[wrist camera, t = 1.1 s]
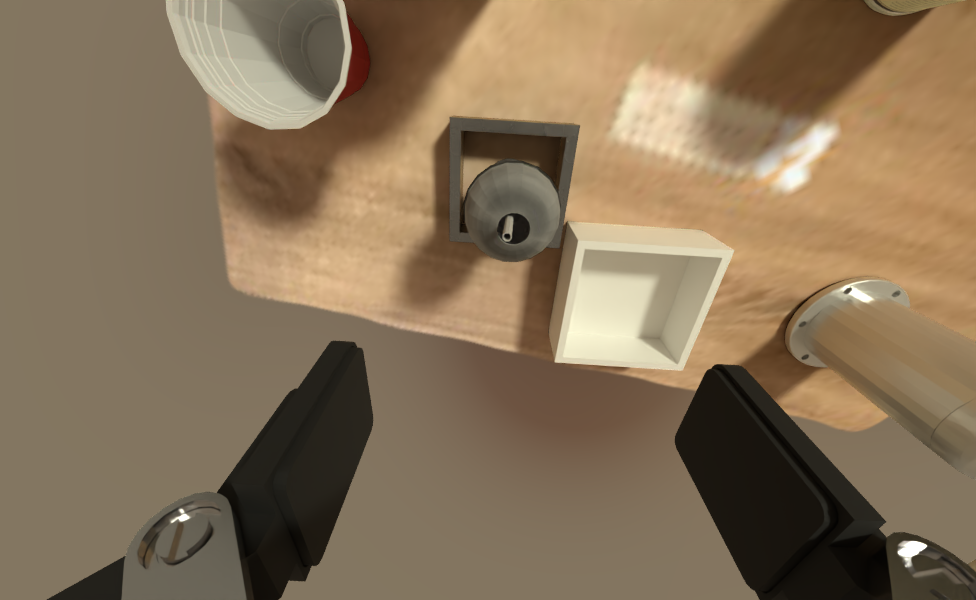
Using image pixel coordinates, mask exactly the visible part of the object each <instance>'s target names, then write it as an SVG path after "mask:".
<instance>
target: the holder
mask: <svg viewBox="0 0 976 600" xmlns="http://www.w3.org/2000/svg"><path fill="white" fill-rule="evenodd" d="M579 128H580V125H577V124H571V123H556V122H541V121H525V120H510V119H494V118H479V117H463V116H452V117H450V241H455V242H470V243H474V241H473V240H472V239H471V237H470V235H469V233H468V230H467V227H466V224H462V205H463V155H464V131H477V132H493V133H508V134H524V135H539V136H555V137H561V141H560V148H559V155H558V162H557V169H556V176H555V182H554V185H555V186H556V188H557V190H558V192H559V197H560V202H561V212H560V220H559V225H558V228H557V230H556V233H555V235H554V237H553V239H552V241H551V242H550V243H549V244H548V245H547V246H546V247H548V248H560V242H561V236H562V230H563V224H564V218H565V212H566V206H567V200H568V194H569V188H570V182H571V176H572V170H573V164H574V158H575V152H576V146H577V140H578V134H579Z"/></svg>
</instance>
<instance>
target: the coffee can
mask: <svg viewBox="0 0 976 600" xmlns="http://www.w3.org/2000/svg"><path fill="white" fill-rule="evenodd" d="M864 1H865V3H866V4H867V5H868V6H869V7H870V8H871V9H872V10H874V11H877V12H879V13H881V14H885V15H892V16H896V15H906V14H911V13H914V12H918V11H921V10H924V9H928V8H933V7H938V6H942V5H947V4H952V3H956V2H961V1H965V0H864Z"/></svg>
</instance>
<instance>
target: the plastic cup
mask: <svg viewBox="0 0 976 600" xmlns="http://www.w3.org/2000/svg"><path fill="white" fill-rule="evenodd" d="M166 12H167V15H168V18H169V21H170V24H171V27H172V30H173V33H174V36H175V39H176V42H177V45H178V48H179V51H180V54H181V56H182V57H183V59H184V60H185V62H186V63H187V65H188V66H189V68H190V69H191V71H192V72H193V74H194V75H195V77H196V78H197V79H198V81H199V82H200V84H201V85H202V87H203V88H204V90H205V91H206V92H207V93H208V94H209V95H211V96H212V97H213V98H214V99H215V100H217V101H218V102H219V103H220V104H221V105H223V106H224V107H225V108H226V109H227V110H229V111H230V112H231V113H232V114H233V115H235V116H236V117H238V118H241V119H243V120H246V121H248V122H251V123H253V124H256V125H259V126H261V127H264V128H266V129H269V130H272V129H301V128H302V127H304V126H306V125H308V124H309V123H311V122H313V121H315V120H317V119H318V118H320V117H322V116H324V115H325V114H327V113H328V112H329V111H330V109H331V108H332V106H333V105H334V104H335V103H338V102H340V101H342V100H343V99H345V98H347V97H348V96H350V95H352V94H354V92H356V91H358V90H359V89H361V87H362V85H363V84H364V82H365V81H366V79H367V78H368V73H369V67H370V59H369V53H368V47H367V44H366V42H365V40H364V38H363V36H362V34H361V32H360V30H359V29H358V28H357V27H356V26H355V25H354V23H353V21H352V19H351V18H350V16H349V15H348V14H347V12H346V8H345V4H344V2H343V0H166Z"/></svg>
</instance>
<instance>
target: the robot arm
mask: <svg viewBox="0 0 976 600" xmlns="http://www.w3.org/2000/svg"><path fill="white" fill-rule="evenodd" d="M785 343H786V346H787V349H788V351H789V352H790V353H791V354H792V355H793V356H794V357H795V358H796V359H797V360H799V361H800V362H802V363H804V364H806V365H810V366H814V367H829V368H830V369H831V370H833V371H834V372H835V373H836V374H838V375H839V376H840V377H841V378H843V379H844V380H845V381H846V382H847V383H849V384H850V385H851V386H852V387H854V388H855V389H856V390H857V391H859V392H860V393H861V394H862V395H864V396H865V397H866V398H867V399H868V400H870V401H871V402H872V403H873V404H875V405H876V406H877V407H878V408H880V409H881V410H882V411H883V412H885V413H886V414H887V415H888V416H890V417H891V418H892V419H893V420H894V421H896V422H897V423H898V424H899V425H901V426H902V427H903V428H904V429H906V430H907V431H908V432H909V433H911V434H912V435H913V436H914V437H915V438H917V439H918V440H919V441H921V442H922V443H923V444H924V445H925V446H927V447H928V448H929V449H931V450H932V451H933V452H934V453H936V454H937V455H938V456H940V458H942V459H943V460H944V461H946V462H947V463H948V464H949V465H951V466H952V467H954V468H955V469H956V470H958V471H959V472H961V473H963V474H964V475H966V476H968V477H970V478H972V479H974V480H976V341H974V340H972V339H970V338H968V337H966V336H964V335H962V334H960V333H958V332H956V331H954V330H952V329H950V328H948V327H946V326H944V325H942V324H940V323H938V322H936V321H934V320H932V319H930V318H928V317H926V316H924V315H922V314H920V313H918V312H916V311H914V310H912V309H910V301H909V297H908V295H907V293H906V292H905V290H904V289H903V288H901V287H900V286H899V285H897V284H895V283H893V282H891V281H889V280H886V279H883V278H879V277H858V278H853V279H849V280H844V281H842V282H839V283H836V284H834V285H831V286H829V287H827V288H825V289H824V290H822V291H820V292H818V293H817V294H815V295H814V296H812V297H811V298H810V299H809V300H807V301H806V302H805V303H804V304H803V305H802V306H801V307H800V308H799V309H798V310H797V311H796V313H795V314H794V315H793V317H792V318H791V320H790V322H789V324H788V326H787V329H786V334H785ZM372 426H373V413H372V406H371V400H370V393H369V386H368V380H367V373H366V367H365V361H364V354H363V350H362V348H357V346H356V344H355V343H354V342H346V341H331V342H330V343H329V345H328V346H327V348H326V349H325V351H324V352H323V353H322V355H321V356H320V358H319V359H318V361H317V362H316V363H315V365H314V366H313V368H312V369H311V370H310V372H309V373H308V375H307V376H306V378H305V379H304V380H303V382H302V383H301V385H300V386H299V388H298V389H294V390H292V391H290V392H289V394H288V395H287V396H286V397H285V399H284V400H283V401H282V403H281V404H280V406H279V407H278V408H277V410H276V411H275V412H274V414H273V415H272V417H271V418H270V419H269V421H268V422H267V424H266V425H265V426H264V428H263V429H262V431H261V432H260V433H259V435H258V436H257V438H256V439H255V440H254V442H253V443H252V444H251V446H250V447H249V449H248V450H247V451H246V453H245V454H244V456H243V457H242V458H241V460H240V461H239V463H238V464H237V465H236V467H235V468H234V469H233V471H232V472H231V474H230V475H229V476H228V478H227V479H226V480H225V482H224V483H223V485H222V486H221V488H220V489H219V490H218V492H217V493H214V492H202V493H195V494H192V495H190V496H187V497H184V498H181V499H179V500H177V501H175V502H174V503H172V504H170V505H168V506H167V507H165V508H163V509H162V510H161V511H160V512H158V513H157V514H156V515H154V516H153V517H152V518H151V519H149V520H148V521H147V523H146V524H145V525H144V526H143V527H142V528H141V529H140V530H139V531H138V532H137V534H136V535H135V537H134V539H133V540H132V542H131V543H130V545H129V547H128V549H127V553H126V556H124V557H123V558H121V559H119V560H117V561H116V562H114V563H112V564H110V565H108V566H107V567H105V568H103V569H101V570H99V571H97V572H96V573H94V574H92V575H90V576H89V577H87V578H85V579H83V580H81V581H79V582H78V583H76V584H74V585H72V586H71V587H69V588H67V589H65V590H63V591H62V592H60V593H58V594H56V595H54V596H52V597H51V598H49V599H47V600H278V599H280V598H281V597H282V594H283V592H284V590H285V587H286V585H287V583H288V581H289V580H290V581H306V578H307V576H308V573H309V571H310V568H311V566H316V565H318V564H319V563H320V561H321V559H322V557H323V554H324V552H325V549H326V546H327V544H328V541H329V539H330V536H331V534H332V531H333V529H334V526H335V523H336V520H337V518H338V516H339V513H340V510H341V508H342V505H343V503H344V500H345V497H346V495H347V492H348V490H349V487H350V484H351V482H352V479H353V477H354V474H355V471H356V469H357V466H358V464H359V461H360V459H361V456H362V453H363V451H364V448H365V445H366V443H367V440H368V438H369V435H370V432H371V430H372ZM675 445H676V448H677V450H678V452H679V454H680V456H681V458H682V460H683V462H684V464H685V466H686V468H687V470H688V472H689V474H690V475H691V477H692V480H693V481H694V483H695V485H696V487H697V489H698V491H699V493H700V495H701V497H702V499H703V501H704V503H705V505H706V507H707V509H708V511H709V512H710V514H711V516H712V518H713V520H714V522H715V524H716V526H717V528H718V530H719V532H720V534H721V536H722V538H723V539H724V542H725V544H726V546H727V548H728V549H729V551H730V553H731V555H732V557H733V559H734V561H735V563H736V565H737V567H738V569H739V571H740V572H741V575H742V577H743V578H744V580H745V582H746V584H747V585H748V586H749V587H750V588H751V589H753V590H755V592H756V593H757V596H758V597H759V599H760V600H976V559H975V560H974V561H972V562H970V563H968V564H966V563H965V562H963V561H962V560H960V559H959V558H958V557H956V556H955V555H954V554H953V553H951V552H949V551H948V550H946V549H944V548H943V547H941V546H939V545H937V544H936V543H934V542H932V541H929V540H927V539H925V538H922V537H920V536H918V535H914V534H909V533H905V532H896V533H895V532H894V533H892V534H891V535H889V536H888V537H886V536H885V535H884V534H883V533H882V532H881V531H880V530H879V528H880V527H881V526H882V525H883V524H884V523H886V521H885V520H884V519H883V518H882V517H881V515H880V514H879V513H878V512H877V511H876V510H875V509H874V508H873V507H872V506H871V505H870V504H869V502H868V501H867V500H866V499H865V498H864V497H863V496H862V495H861V494H860V493H859V492H858V491H857V489H856V488H855V487H854V486H853V485H852V484H851V483H850V482H849V481H848V480H847V479H846V478H845V476H844V475H843V474H842V473H841V472H840V471H839V470H838V469H837V468H836V467H835V466H834V465H833V464H832V462H831V461H830V460H829V459H828V458H827V457H826V456H825V455H824V454H823V453H822V452H821V451H820V449H819V448H818V447H817V446H816V445H815V444H814V443H813V442H812V441H811V440H810V439H809V438H808V436H806V434H805V433H804V432H803V431H802V430H801V429H800V428H799V427H798V426H797V425H796V424H795V422H794V421H793V420H792V419H791V418H790V417H789V416H788V415H787V414H786V413H785V412H784V411H783V409H782V408H781V407H780V406H779V405H778V404H777V403H776V402H775V401H774V400H773V399H772V398H771V396H770V395H769V394H768V393H767V392H766V391H765V390H764V389H763V388H762V387H761V386H760V385H759V383H758V382H757V381H756V380H755V379H754V378H753V377H752V376H751V375H750V374H749V373H748V372H747V370H746V369H744V368H743V367H742V366H739V365H723V364H717V365H714V366H713V367H712V368H711V369H709V370H707V371H706V373H705V375H704V377H703V379H702V381H701V383H700V385H699V387H698V389H697V391H696V393H695V396H694V398H693V400H692V402H691V404H690V406H689V408H688V410H687V412H686V414H685V416H684V419H683V421H682V423H681V425H680V427H679V429H678V431H677V433H676V436H675Z"/></svg>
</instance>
